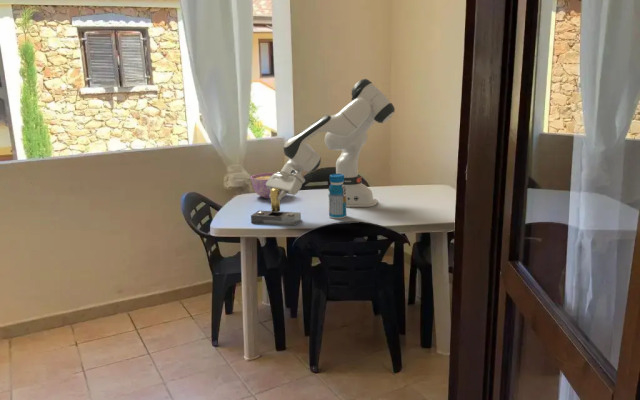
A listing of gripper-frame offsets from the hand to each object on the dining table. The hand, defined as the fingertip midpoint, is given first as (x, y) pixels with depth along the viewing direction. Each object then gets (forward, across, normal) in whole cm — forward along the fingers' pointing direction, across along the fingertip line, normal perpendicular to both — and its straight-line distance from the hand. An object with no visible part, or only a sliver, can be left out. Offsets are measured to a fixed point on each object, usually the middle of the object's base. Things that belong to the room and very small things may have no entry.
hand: (274, 198), depth 237 cm
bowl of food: (-12, -43, +28) cm, 53 cm away
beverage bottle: (-10, +15, +26) cm, 32 cm away
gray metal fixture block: (+7, 0, +8) cm, 11 cm away
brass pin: (+4, 0, +4) cm, 6 cm away
